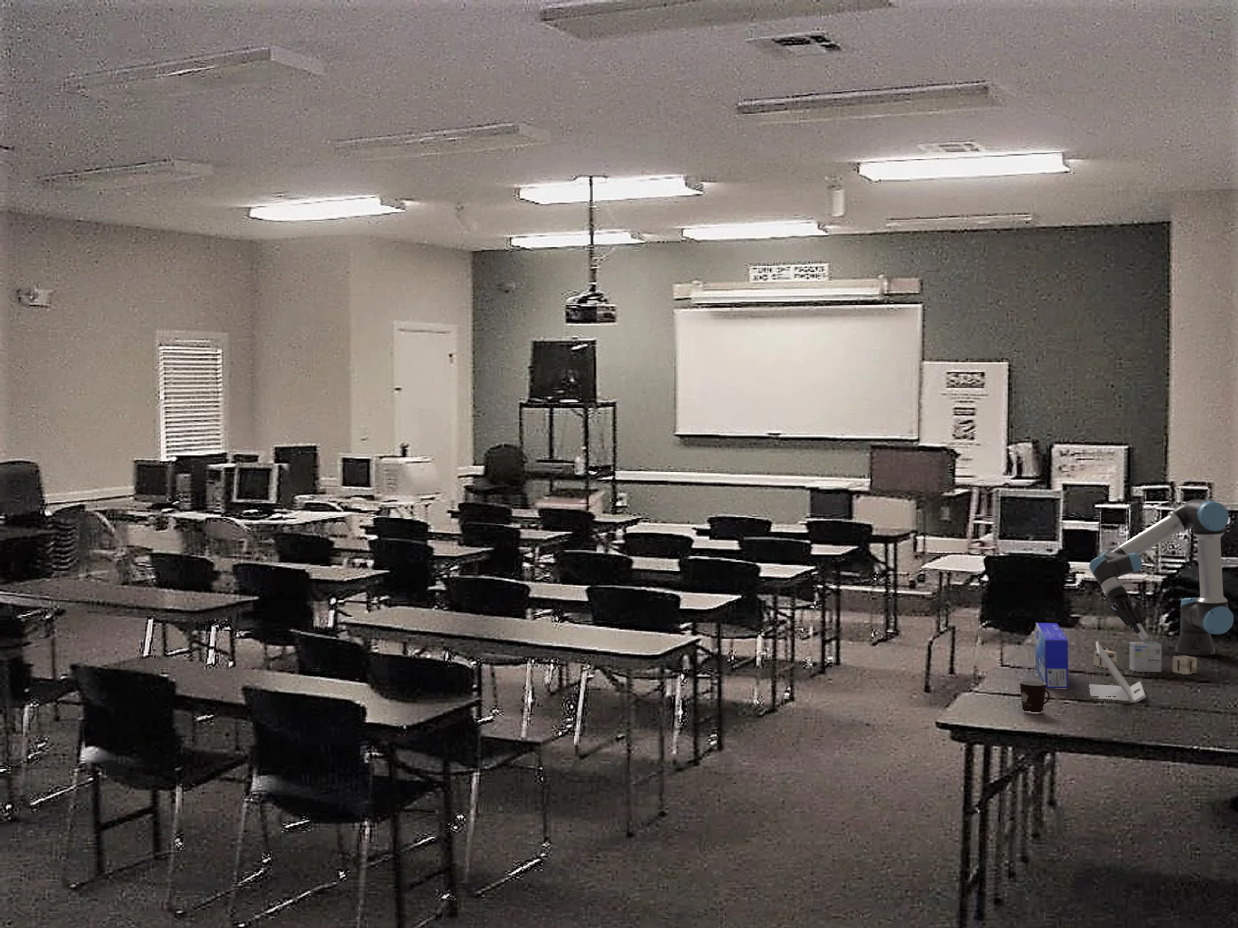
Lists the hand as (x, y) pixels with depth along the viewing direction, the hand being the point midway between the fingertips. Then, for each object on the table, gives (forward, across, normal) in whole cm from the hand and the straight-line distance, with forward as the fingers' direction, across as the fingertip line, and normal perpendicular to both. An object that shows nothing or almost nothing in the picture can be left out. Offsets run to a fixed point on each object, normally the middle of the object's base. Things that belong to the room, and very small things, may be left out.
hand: (1145, 638), depth 524 cm
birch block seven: (0, +9, -17) cm, 19 cm away
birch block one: (+15, -11, -2) cm, 19 cm away
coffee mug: (+40, +90, +23) cm, 101 cm away
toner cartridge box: (+9, +46, -9) cm, 47 cm away
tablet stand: (+30, +42, +13) cm, 53 cm away
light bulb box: (+9, 0, -9) cm, 13 cm away
